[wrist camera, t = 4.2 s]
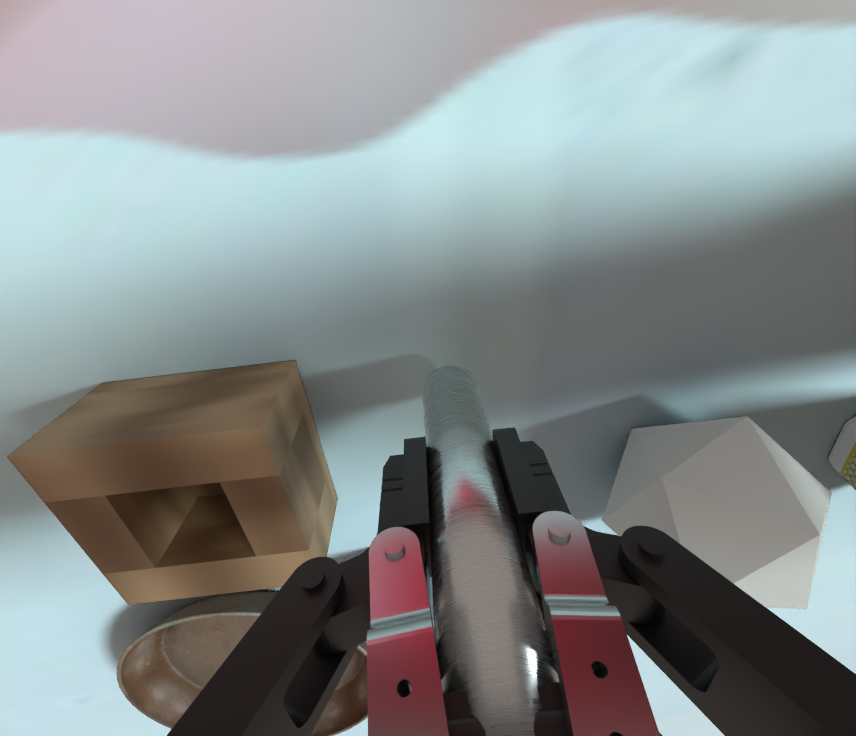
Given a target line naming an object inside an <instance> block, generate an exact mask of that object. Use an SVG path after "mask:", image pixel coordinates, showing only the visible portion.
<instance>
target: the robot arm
mask: <svg viewBox="0 0 856 736" xmlns="http://www.w3.org/2000/svg"><path fill="white" fill-rule="evenodd" d="M493 443H494V447H495V450H496V454H497V458H498V461H499V465H500V468H501V472H502V476H503V479H504V483H505V486H506V490H507V494H508V497H509V501H510V504H511V508H512V512H513V515H514V519H515V522H516V526H517V530H518V533H519V535H520V538H521V542H522V545H523V549H524V552H525V556H526V560H527V563H528V567H529V570H530V574H531V577H532V581H533V585H534V588H535V592H536V595H537V599H538V603H539V606H540V610H541V613H542V617H543V620H544V624H545V633H546V638H547V643H548V648H549V654H550V659H551V664H552V668H553V669H554V670H555V671H556V672H557V674H558V678H559V682H554V683H545V684H543V685H541V686H538V687H537V688H538V692H539V696H540V701H541V705H542V709H543V711H542V712H537V713H536V716H535V719H534V724H533V728H534V734H535V736H662V735H661V734H660V733H659V731H658V728H657V725H656V722H655V719H654V716H653V713H652V710H651V707H650V704H649V701H648V697H647V694H646V691H645V688H644V685H643V682H642V679H641V676H640V673H639V670H638V667H637V664H636V661H635V658H634V655H633V652H632V649H631V646H630V643H629V640H628V637H627V635H628V636H629V637H630V638H631V639H632V640H633V641H634V642H635V643H636V644H637V645H638V646H639V647H640V648H641V649H642V650H643V651H644V652H645V653H646V654H647V656H648V657H649V658H650V659H651V660H652V661H653V662H654V663H655V664H656V665H657V666H658V667H659V668H660V669H661V670H662V671H663V672H664V673H665V674H666V675H667V676H668V677H669V678H670V679H671V680H672V681H673V682H674V683H675V684H676V686H677V687H678V688H679V689H680V690H681V691H682V692H683V693H684V694H685V695H686V696H687V697H688V698H689V699H690V700H691V701H692V702H693V703H694V704H695V705H696V706H697V707H698V708H699V709H700V710H701V711H702V712H703V713H704V715H705V716H706V717H707V718H708V719H709V720H710V721H711V722H712V723H713V724H714V725H715V726H716V727H717V728H718V729H719V730H720V731H721V732H722V733H723V734H724V735H725V736H856V674H855V673H853V672H852V671H851V670H849V669H848V668H846V667H845V666H844V665H842V664H841V663H840V662H838V661H837V660H836V659H834V658H833V657H832V656H830V655H829V654H828V653H826V652H825V651H824V650H822V649H821V648H820V647H818V646H817V645H816V644H814V643H813V642H811V641H810V640H809V639H807V638H806V637H805V636H803V635H802V634H801V633H799V632H798V631H797V630H795V629H794V628H793V627H791V626H790V625H789V624H787V623H786V622H785V621H783V620H782V619H781V618H779V617H778V616H776V615H775V614H774V613H772V612H771V611H770V610H768V609H767V608H766V607H764V606H763V605H762V604H760V603H759V602H758V601H756V600H755V599H754V598H752V597H751V596H750V595H748V594H747V593H746V592H744V591H743V590H741V589H740V588H739V587H737V586H736V585H735V584H733V583H732V582H731V581H729V580H728V579H727V578H725V577H724V576H723V575H721V574H720V573H719V572H717V571H716V570H715V569H713V568H712V567H711V566H709V565H708V564H706V563H705V562H704V561H702V560H701V559H700V558H698V557H697V556H696V555H694V554H693V553H692V552H690V551H689V550H688V549H686V548H685V547H684V546H682V545H681V544H680V543H678V542H677V541H676V540H674V539H673V538H671V537H670V536H669V535H667V534H666V533H664V532H662V531H660V530H658V529H656V528H653V527H649V526H633V527H630V528H628V529H627V530H625V531H624V533H623V534H622V536H617V535H611V534H606V533H601V532H596V531H593V530H591V529H588V528H586V527H585V526H583V525H582V524H581V522H580V521H579V520H578V519H576V518H575V517H573V516H572V515H571V513H570V511H569V509H568V507H567V505H566V502H565V500H564V498H563V495H562V493H561V491H560V489H559V486H558V484H557V482H556V479H555V477H554V475H553V473H552V470H551V468H550V465H548V461H547V459H546V456H545V454H544V452H543V450H542V449H541V448H540V447H539V446H537V445H536V444H535V443H534V442H533V441H527V442H520V440H519V437H518V434H517V432H516V429H515V428H505V429H495V430H493ZM382 481H383V482H382V492H381V501H380V513H379V524H378V533H377V536H376V537H375V538H374V540H373V541H372V543H371V545H370V547H369V548H368V549H367V550H366V551H365V552H363V553H362V554H360V555H359V556H357V557H355V558H352V559H350V560H347V561H345V562H342V563H340V564H337V562H336V561H334V560H333V559H331V558H328V557H316V558H312V559H310V560H308V561H306V562H304V563H303V564H301V565H300V566H299V567H298V568H297V569H296V570H295V571H294V572H293V573H292V575H291V576H290V577H289V578H288V580H287V581H286V582H285V584H284V585H283V586H282V587H281V589H280V590H279V591H278V593H277V594H276V595H275V596H274V598H273V599H272V600H271V602H270V603H269V604H268V606H267V607H266V608H265V609H264V611H263V612H262V613H261V615H260V616H259V617H258V618H257V620H256V621H255V622H254V624H253V625H252V626H251V627H250V629H249V630H248V631H247V633H246V634H245V635H244V637H243V638H242V639H241V640H240V642H239V643H238V644H237V646H236V647H235V648H234V649H233V651H232V652H231V653H230V655H229V656H228V657H227V658H226V660H225V661H224V662H223V664H222V665H221V666H220V668H219V669H218V670H217V671H216V673H215V674H214V675H213V677H212V678H211V679H210V680H209V682H208V683H207V684H206V686H205V687H204V688H203V689H202V691H201V692H200V693H199V695H198V696H197V697H196V698H195V700H194V701H193V702H192V704H191V705H190V706H189V708H188V709H187V710H186V711H185V713H184V714H183V715H182V717H181V718H180V719H179V720H178V722H177V723H176V724H175V726H174V727H173V728H172V729H171V731H170V732H169V733H168V735H167V736H310V735H311V733H312V731H313V729H314V728H315V726H316V724H317V722H318V720H319V718H320V716H321V715H322V713H323V711H324V709H325V707H326V705H327V704H328V702H329V700H330V698H331V696H332V694H333V692H334V691H335V689H336V687H337V685H338V683H339V681H340V680H341V678H342V676H343V674H344V672H345V670H346V669H347V667H348V665H349V663H350V661H351V659H352V657H353V656H354V654H355V652H356V650H357V648H358V646H359V644H361V643H363V642H365V641H367V693H368V736H486V733H485V729H484V728H483V726H482V724H481V723H480V721H479V720H478V719H477V718H470V714H469V704H468V695H467V694H462V693H458V692H449V693H443V691H442V684H441V675H440V668H439V662H438V655H437V648H436V643H435V633H434V625H433V619H432V612H431V606H430V577H432V571H431V550H430V547H431V542H432V534H431V515H430V496H429V477H428V458H427V444H426V438H425V437H419V438H410V439H404V454H403V455H394V456H390V457H389V459H388V461H387V462H386V464H385V466H384V467H383V478H382Z"/></svg>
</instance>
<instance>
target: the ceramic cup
mask: <svg viewBox="0 0 856 736" xmlns="http://www.w3.org/2000/svg"><path fill="white" fill-rule="evenodd" d="M828 460H829V461H830V464H831V465H832V466H833V467H834V469H835V470H836V471H837V472H838V473H839V474H840V475H841V476H842V477H843V478H844V479H845V480H846V481H847V482H848V483H849V484H850V485H851V486H852V487H853V488H854V489H855V490H856V416H855V417H853V418H852V419H850V420H849V421H847V422H846V423H845V424H844V426H843V428H842V430H841V432H840V434H839V436H838V438H837V440H836V442H835V445H834V447H833V449H832V451H831V453H830V455H829V457H828Z"/></svg>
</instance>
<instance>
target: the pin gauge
mask: <svg viewBox="0 0 856 736" xmlns="http://www.w3.org/2000/svg"><path fill="white" fill-rule="evenodd" d="M423 406H424V426H425V438H426V444H427V458H428V477H429V496H430V515H431V534H432V542H431V547H430V550H431V571H432V592H433V612H434V633H435V643H436V648H437V655H438V662H439V668H440V675H441V684H442V691H443V693H449V692H458V693H462V694H467V695H468V704H469V714H470V718H477V719H478V720H479V721H480V723H481V724H482V726H483V728H484V729H485V733H486V736H535V734H534V728H533V724H534V719H535V716H536V713H537V712H542V711H543V709H542V705H541V701H540V696H539V692H538V688H537V687H538V686H541V685H543V684H545V683H554V682H559V678H558V674H557V672H556V671H555V670H554V669H553V668H552V664H551V659H550V654H549V648H548V643H547V638H546V633H545V624H544V620H543V617H542V613H541V610H540V606H539V603H538V599H537V595H536V592H535V588H534V585H533V581H532V577H531V574H530V570H529V567H528V563H527V560H526V556H525V552H524V549H523V545H522V542H521V538H520V535H519V533H518V530H517V526H516V522H515V519H514V515H513V512H512V508H511V504H510V501H509V497H508V494H507V490H506V486H505V483H504V479H503V476H502V472H501V468H500V465H499V461H498V458H497V454H496V450H495V447H494V443H493V438H492V434H491V431H490V427H489V424H488V420H487V416H486V413H485V409H484V406H483V402H482V399H481V395H480V391H479V388H478V384H477V381H476V379H475V377H474V376H473V375H472V374H471V373H470V372H469V371H468V370H466V369H464V368H461V367H457V366H446V367H442V368H439V369H437V370H435V371H434V372H432V373H431V374H430V375H429V376H428V377H427V379H426V380H425V382H424V385H423Z"/></svg>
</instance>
